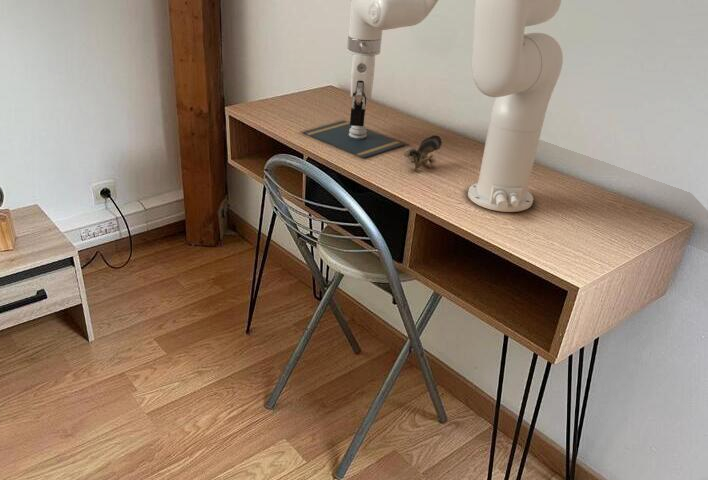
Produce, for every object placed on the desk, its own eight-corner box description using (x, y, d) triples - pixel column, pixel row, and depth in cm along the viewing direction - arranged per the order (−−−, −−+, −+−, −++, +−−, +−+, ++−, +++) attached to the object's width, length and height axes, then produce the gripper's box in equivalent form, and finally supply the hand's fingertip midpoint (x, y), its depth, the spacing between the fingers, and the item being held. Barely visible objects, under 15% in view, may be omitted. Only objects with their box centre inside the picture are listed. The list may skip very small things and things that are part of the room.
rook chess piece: (367, 140, 154) (370, 107, 150) (348, 139, 154) (351, 106, 150) (366, 133, 158) (368, 101, 153) (348, 133, 158) (350, 101, 153)
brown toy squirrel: (441, 170, 137) (449, 149, 143) (426, 143, 134) (434, 123, 140) (410, 182, 141) (419, 161, 147) (394, 156, 138) (404, 136, 144)
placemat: (404, 145, 153) (404, 143, 152) (364, 158, 145) (364, 157, 145) (343, 121, 166) (343, 120, 166) (303, 133, 158) (303, 131, 158)
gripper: (380, 55, 137) (372, 132, 146) (381, 37, 151) (374, 108, 161) (345, 53, 137) (339, 129, 147) (349, 35, 152) (344, 106, 161)
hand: (357, 118), depth 154 cm, fingers open, 9 cm apart
